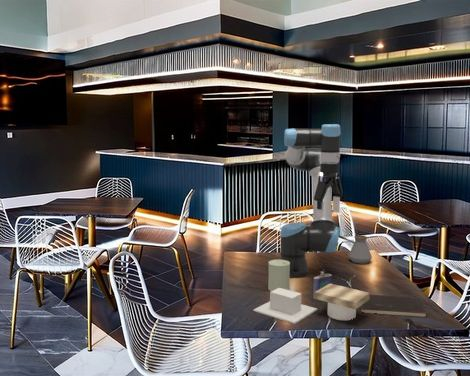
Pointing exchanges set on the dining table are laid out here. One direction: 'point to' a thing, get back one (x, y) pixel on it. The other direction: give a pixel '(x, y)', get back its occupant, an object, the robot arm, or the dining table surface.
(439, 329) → the dining table surface
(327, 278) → the flask
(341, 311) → the bowl
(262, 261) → the dining table surface
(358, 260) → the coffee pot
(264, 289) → the dining table surface
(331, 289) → the wavy beige panel
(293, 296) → the stand
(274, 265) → the can
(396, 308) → the hardcover book
